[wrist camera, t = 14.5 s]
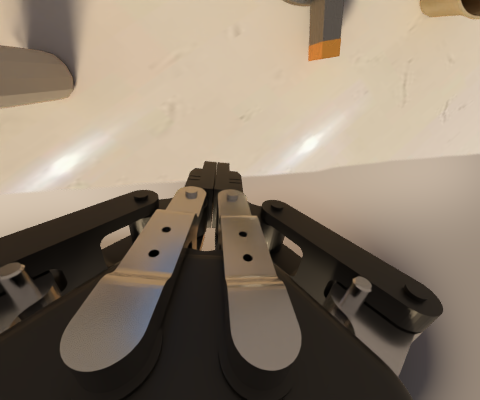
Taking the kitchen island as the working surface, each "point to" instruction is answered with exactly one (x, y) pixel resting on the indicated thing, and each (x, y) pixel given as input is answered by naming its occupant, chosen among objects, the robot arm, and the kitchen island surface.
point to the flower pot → (451, 8)
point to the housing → (298, 2)
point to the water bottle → (32, 77)
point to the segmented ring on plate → (325, 28)
